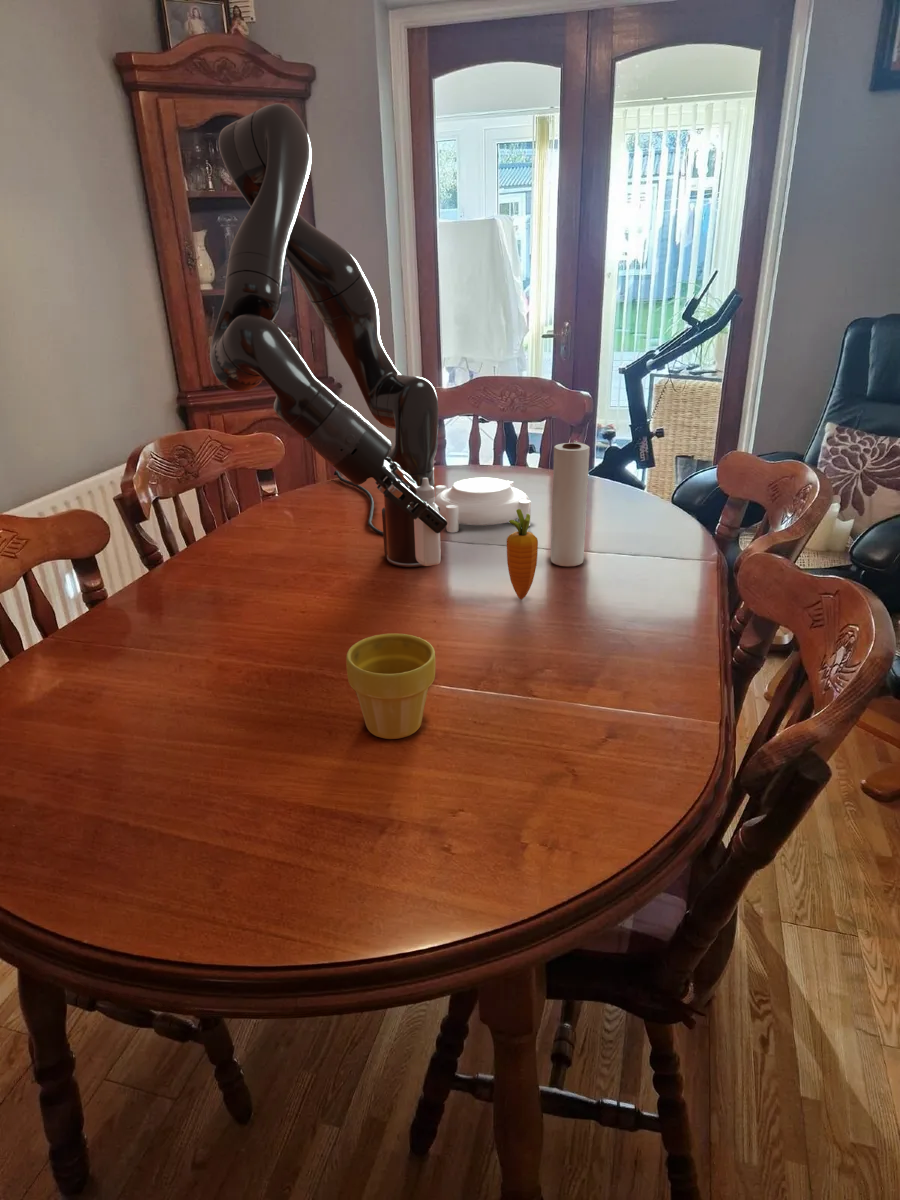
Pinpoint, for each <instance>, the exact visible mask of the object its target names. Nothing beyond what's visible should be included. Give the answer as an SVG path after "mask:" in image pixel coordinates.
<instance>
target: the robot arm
mask: <svg viewBox="0 0 900 1200" xmlns="http://www.w3.org/2000/svg"><path fill="white" fill-rule="evenodd" d="M309 136H310V135H309V133H308V130H307V128H306V126H305V124H304V123H303V120H302V119H301V118H300V116H299V115H298V114H297V112H295V110H294V109H292V107H291V106H289V105H287V104H284V103H281V102H280V103H279V102H275V103H272V104H268V105H265V106H263V107H260V108H259V109H257V110H255V111H253V112H251V113H249V114H247V115H245V116H242V117H241V118H239V119H237V120H235V121H233V122H231V123H230V124H228V125H226V126H224V127H223V128H222V129H221V130H220V132H219V136H218V148H219V153H220V157H221V159H222V162H223V165H224V167H225V169H226V171H227V173H228V176H229V177H230V178H231V180H232V182H233V183H234V185H235V187H236V188H237V190H238V191H239V193H240V194H241V196H242V197H243V198H244V200H245V201H246V203H247V204H248V206H249V207H250V209H249V210H248V212H247V214H246V215H245V217H244V218H243V220H242V221H241V223H240V226H239V228H238V229H237V232H236V234H235V236H234V237H233V241H232V243H231V245H230V251H229V255H228V259H227V268H226V275H225V283H224V297H223V299H222V300H223V301H222V305H221V308H220V310H219V314H218V316H217V317H218V318H217V320H216V321H217V322H216V324H215V328H214V332H213V335H212V339H211V343H210V350H209V351H210V352H209V360H210V366H211V370H212V373H213V374H214V376H215V377H216V379H217V380H218V382H219V383H220V384H222V386H224V387H225V388H227V389H229V390H231V391H233V392H241V393H242V392H246V391H251V390H253V389H255V388H256V387H258V386H259V385H260V384H262V382H263V381H265V382H266V384H267V385H268V386H269V387H270V389H272V391H273V392H274V394H275V396H276V397H275V399H274V402H273V411H274V413H275V415H277V417H278V418H279V419H280V420H281V421H283V422H284V424H286V425H287V426H288V427H289V428H291V429H292V430H293V432H295V433H296V434H297V435H299V436H300V437H301V438H302V439H303V440H305V441H306V442H307V443H308V444H309V445H310V447H311V448H312V449H313V450H314V451H315V452H316V453H317V454H318V455H319V456H321V457H322V458H323V459H324V460H325V461H326V462H327V463H329V464H330V465H331V466H332V467H333V468H335V471H334V473H333V476H337V478H338V479H339V480H340V481H341V482H343V483H344V484H347V485H351V486H353V487H356V488H357V489H359V490H361V491H362V492H364V493H365V494H366V495H367V497H368V498H369V502H370V508H369V516H368V519H367V525H368V527H369V528H370V529H371V530H372V531H373V532H374V533H377V535H380V536H382V537H383V551H384V553H383V554H384V558H386V559H387V562H388V563H389V564H391V565H393V566H397V567H400V568H401V567H403V568H418V567H419V568H420V567H425V566H424V565H422V564H420V563H419V562H418V561H417V560H416V556H415V533H414V519H415V520H416V519H417V518H419V519H420V520H421V521H423V522H424V523H425V524H426V525H427V526H428V527H430V528H431V529H432V530H433V531H434V532H435V533H440V534H441V532H442V531H443V530H444V529H446V528H447V521H446V519H444V518H443V517H442V516H441V515H440V514H439V513H438V512H436V511H435V510H434V509H433V508H432V507H431V506H430V505H429V504H428V502H427V501H426V500H424V499H423V498H422V497H421V496H420V495H419V494H418V492H419V490H418V487H420V486H421V485H422V481H423V478H428V481H429V485H430V486H432V487H434V490H435V487H436V486H435V457H436V455H437V452H438V447H439V401H438V396H437V395H438V394H437V392H436V389H435V387H434V386H433V384H432V383H431V382H430V381H429V380H428V379H426V378H424V377H420V376H414V375H407V374H401V373H400V372H399V371H398V370H397V368H396V367H395V365H394V364H393V361H392V360H391V358H390V357H389V355H388V354H387V352H386V350H385V347H384V346H383V343H382V339H381V335H380V315H379V308H378V307H379V306H378V302H377V298H376V296H375V293H374V291H373V289H372V287H371V285H370V283H369V280H368V279H367V277H366V276H365V274H364V271H363V270H362V268H361V266H360V264H359V263H358V261H357V260H356V258H355V257H354V256H353V254H351V252H350V251H348V250H347V249H346V248H345V247H344V246H342V245H341V244H340V243H338V242H337V241H336V240H334V239H332V237H329V236H328V235H327V234H326V233H324V232H322V231H321V230H320V229H318V228H316V227H315V226H314V225H312V224H311V223H310V222H308V221H307V220H306V219H305V218H304V217H303V216H302V215H301V214H300V213H299V209H300V206H301V202H302V198H303V195H304V193H305V189H306V185H307V182H308V179H309V177H310V176H309V175H310V173H311V168H312V157H313V151H312V144H311V139H310V137H309ZM286 262H287V263H288V265H289V266H290V269H291V270H292V271H293V273H294V275H295V276H296V278H297V280H298V282H299V283H300V286H301V288H302V289H303V291H304V292H305V294H306V297H307V298H308V300H309V302H310V303H311V306H312V308H313V309H314V310H315V312H316V314H317V315H318V317H319V319H320V320H321V322H322V323H323V325H324V326H325V328H326V329H327V331H328V333H329V335H330V336H331V338H332V340H333V342H334V343H335V345H336V347H337V348H338V350H339V352H340V354H341V355H342V357H343V358H344V360H345V362H346V363H347V365H348V367H349V369H350V370H351V373H352V375H353V377H354V379H355V381H356V383H357V386H358V388H359V390H360V392H361V394H362V396H363V397H362V398H363V399H364V401H365V403H366V405H367V408H368V410H369V412H370V413H371V415H372V417H373V418H374V419H375V420H376V421H377V423H379V424H380V425H382V426H384V427H386V428H388V429H393V430H395V433H394V434H395V440H394V447H393V446H392V442H391V440H390V439H388V438H387V437H386V436H385V435H384V434H383V433H382V432H380V431H379V430H378V429H377V428H376V427H375V426H374V425H373V424H372V423H371V422H369V420H367V419H366V418H365V417H364V416H363V415H362V414H361V413H360V412H358V411H357V410H356V409H355V408H354V407H353V406H351V405H350V404H349V403H346V402H345V401H344V400H342V399H341V398H340V397H339V396H337V394H335V393H334V392H333V391H332V390H331V389H330V388H329V387H327V386H326V385H325V384H324V383H323V382H322V381H321V380H319V378H317V377H316V376H315V375H314V373H313V372H312V371H311V369H310V367H309V365H308V364H307V362H306V361H305V360H304V358H303V357H302V355H301V354H300V353H299V351H298V349H296V347H295V346H294V344H293V342H292V341H291V340H290V339H289V337H288V336H287V335H286V333H285V332H284V331H283V330H282V329H281V328H280V327H279V326H278V325H276V323H274V320H275V319H276V317H277V316H278V313H279V311H280V308H281V304H282V298H283V290H284V288H283V287H284V278H285V267H286ZM341 474H342V475H343V476H344V477H345V478H343V477H342V476H341ZM371 478H372V479H373V480H374V483H375V484H376V485H377V486H376V488H377V490H378V491H379V492H380V493H381V494H382V495H383V500H384V501H383V502H384V507H383V508H381V517H382V518H381V520H382V521H381V522H382V531H381V530H380V529H378V528H376V527H375V526H374V525H373V523H372V521H373V518H374V509H375V503H374V498H373V495H372V494H371V493H370V491H368V490H367V489H366V488H365V487H363V486H362V484H364V483H365V482H367V480H369V479H371ZM435 491H436V490H435ZM417 503H418V504H417ZM434 503H435V502H434ZM416 504H417V505H416ZM415 505H416V506H415ZM437 507H438V509H439V512H440V508H439V506H437Z"/></svg>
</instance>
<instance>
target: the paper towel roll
mask: <svg viewBox="0 0 900 1200" xmlns="http://www.w3.org/2000/svg"><path fill="white" fill-rule="evenodd" d="M590 448H591V447H590V446H589V445H588V444H585V443H584V442H580V441H576V440H575V439H574V440H573V442H562V443H558V444H556V445H554V446H553V465H552V466H553V468H552V470H553V472H552V474H553V475H552V497H551V498H552V500H551V529H550V530H551V531H550V562H551V563H552V564H554V565H556V566H560V567H576V566H580V565H581V564H583V562H584V560H585V545H586V544H585V542H586V525H587V507H588V505H587V503H588V485H589V484H588V483H589V466H590Z"/></svg>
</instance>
